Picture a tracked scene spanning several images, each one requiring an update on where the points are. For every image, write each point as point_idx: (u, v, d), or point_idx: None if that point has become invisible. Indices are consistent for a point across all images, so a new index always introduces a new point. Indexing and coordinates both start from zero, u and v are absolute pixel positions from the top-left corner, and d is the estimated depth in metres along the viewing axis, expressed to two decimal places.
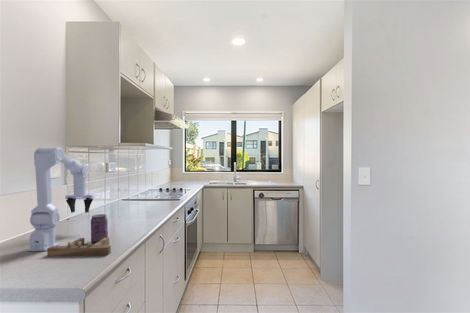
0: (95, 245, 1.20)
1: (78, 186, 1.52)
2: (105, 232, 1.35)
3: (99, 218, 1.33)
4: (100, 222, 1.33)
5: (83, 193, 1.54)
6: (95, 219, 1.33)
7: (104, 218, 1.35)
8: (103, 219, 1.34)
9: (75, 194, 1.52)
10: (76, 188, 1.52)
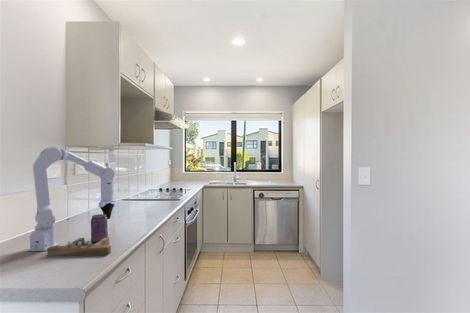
0: (95, 245, 1.20)
1: (102, 191, 1.43)
2: (105, 232, 1.35)
3: (99, 218, 1.33)
4: (100, 222, 1.33)
5: (102, 199, 1.42)
6: (95, 219, 1.33)
7: (104, 218, 1.35)
8: (103, 219, 1.34)
9: None
10: None
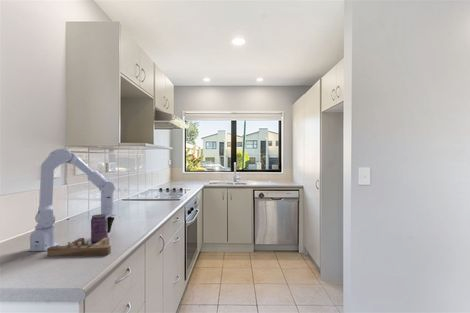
0: (95, 245, 1.20)
1: (102, 205, 1.43)
2: (105, 232, 1.35)
3: (99, 218, 1.33)
4: (100, 222, 1.33)
5: (103, 213, 1.42)
6: (95, 219, 1.33)
7: (104, 218, 1.35)
8: (103, 219, 1.34)
9: None
10: None
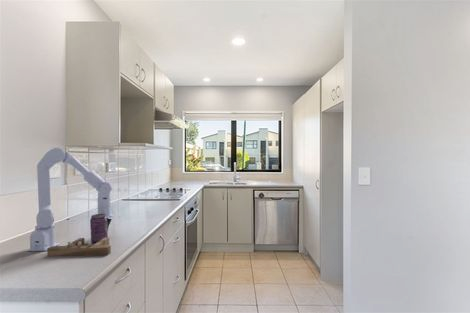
0: (95, 245, 1.20)
1: (98, 206, 1.39)
2: (105, 232, 1.35)
3: (98, 218, 1.33)
4: (99, 222, 1.33)
5: None
6: (94, 219, 1.32)
7: (103, 218, 1.34)
8: (103, 219, 1.34)
9: None
10: None
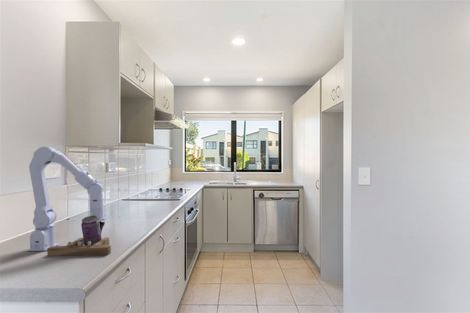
0: (95, 245, 1.20)
1: None
2: (98, 236, 1.27)
3: (90, 223, 1.24)
4: (91, 227, 1.24)
5: None
6: (85, 224, 1.24)
7: (95, 222, 1.26)
8: (94, 224, 1.25)
9: None
10: None
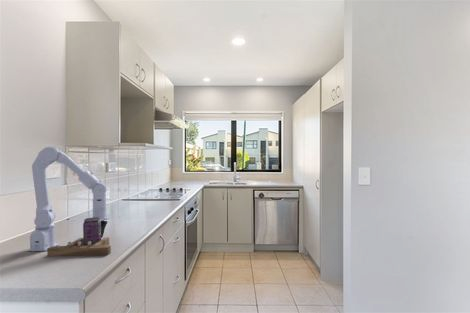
0: (95, 245, 1.20)
1: (93, 208, 1.34)
2: (98, 236, 1.28)
3: (92, 222, 1.26)
4: (93, 226, 1.26)
5: None
6: (87, 223, 1.26)
7: (97, 222, 1.28)
8: (96, 223, 1.27)
9: None
10: None
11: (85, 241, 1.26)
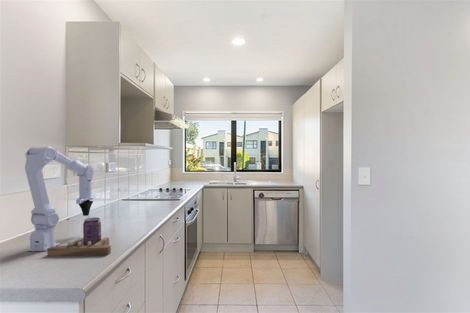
0: (95, 245, 1.20)
1: (82, 188, 1.46)
2: (98, 236, 1.28)
3: (92, 222, 1.26)
4: (93, 226, 1.26)
5: (81, 196, 1.46)
6: (87, 223, 1.26)
7: (97, 222, 1.28)
8: (96, 223, 1.27)
9: None
10: None
11: (85, 241, 1.26)
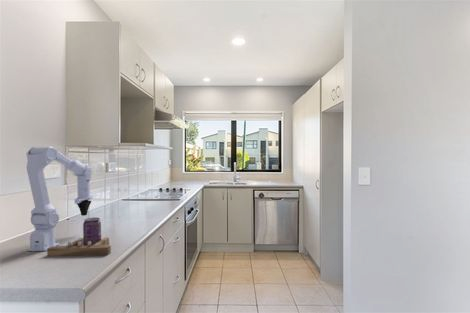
0: (95, 245, 1.20)
1: (81, 188, 1.47)
2: (98, 236, 1.28)
3: (92, 222, 1.26)
4: (93, 226, 1.26)
5: (79, 196, 1.47)
6: (87, 223, 1.26)
7: (97, 222, 1.28)
8: (96, 223, 1.27)
9: None
10: None
11: (85, 241, 1.26)
